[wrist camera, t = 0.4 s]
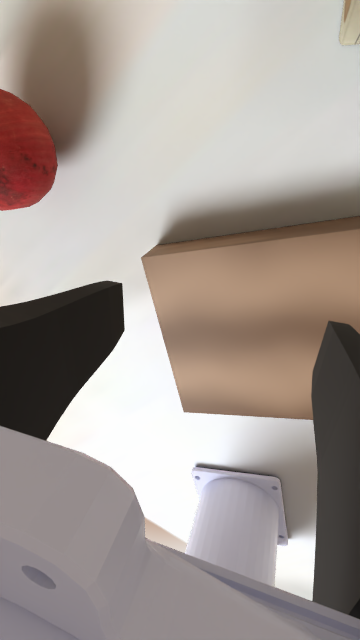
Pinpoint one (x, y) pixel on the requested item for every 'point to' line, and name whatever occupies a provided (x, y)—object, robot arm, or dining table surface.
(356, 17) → the skincare box
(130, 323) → the dining table surface
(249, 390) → the light brown block
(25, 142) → the onion
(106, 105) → the dining table surface
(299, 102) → the dining table surface
